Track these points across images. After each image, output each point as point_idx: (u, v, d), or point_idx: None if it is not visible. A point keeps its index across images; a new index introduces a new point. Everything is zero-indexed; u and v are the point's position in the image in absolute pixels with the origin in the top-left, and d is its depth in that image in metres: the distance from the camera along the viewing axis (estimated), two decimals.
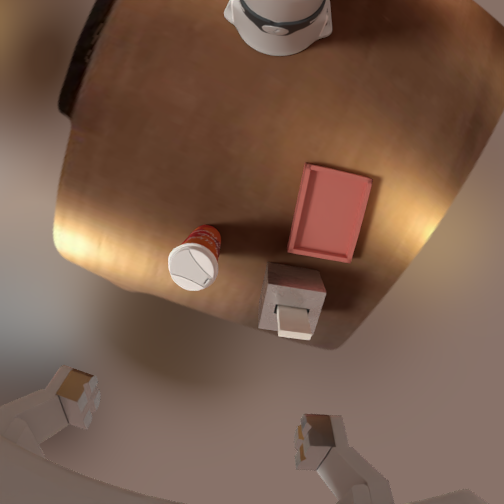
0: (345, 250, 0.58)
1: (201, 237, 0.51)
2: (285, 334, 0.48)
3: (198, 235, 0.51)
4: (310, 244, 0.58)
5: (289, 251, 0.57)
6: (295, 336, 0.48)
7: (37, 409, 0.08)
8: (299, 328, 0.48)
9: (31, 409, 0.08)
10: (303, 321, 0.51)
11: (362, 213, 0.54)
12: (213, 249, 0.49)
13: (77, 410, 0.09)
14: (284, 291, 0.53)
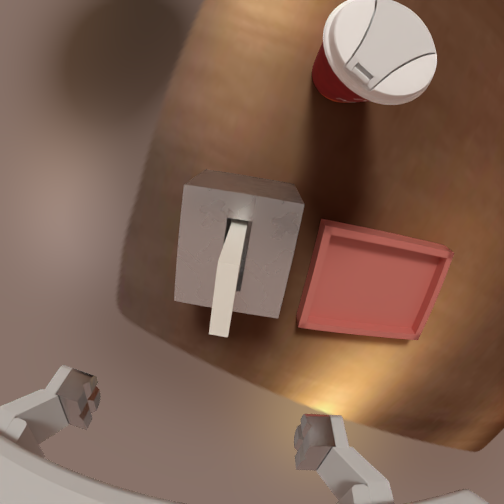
0: (314, 314, 0.36)
1: None
2: (226, 280, 0.18)
3: None
4: (329, 259, 0.33)
5: (326, 228, 0.31)
6: (220, 303, 0.19)
7: (37, 409, 0.08)
8: (233, 303, 0.20)
9: (31, 409, 0.08)
10: None
11: (376, 334, 0.35)
12: None
13: (77, 410, 0.09)
14: (284, 239, 0.24)
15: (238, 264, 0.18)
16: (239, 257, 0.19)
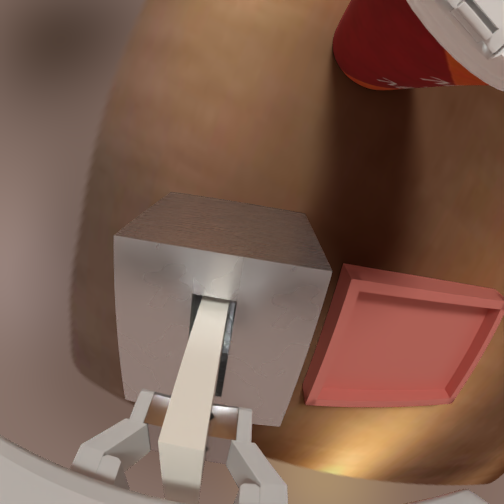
0: (326, 385, 0.25)
1: None
2: (180, 464, 0.07)
3: None
4: (352, 320, 0.23)
5: (353, 282, 0.20)
6: (176, 484, 0.08)
7: (125, 441, 0.08)
8: None
9: (120, 442, 0.08)
10: None
11: (404, 403, 0.24)
12: None
13: None
14: (293, 328, 0.14)
15: (202, 447, 0.07)
16: (205, 419, 0.08)
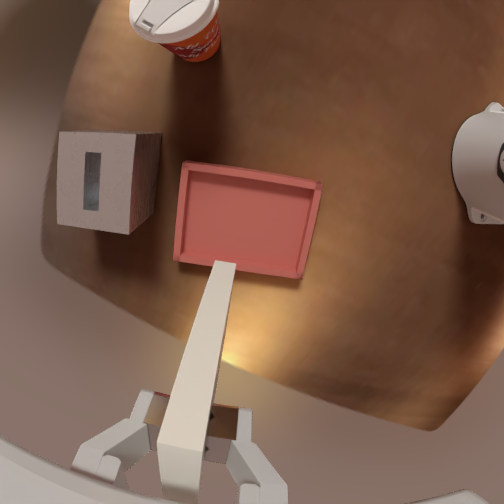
0: (190, 249, 0.40)
1: (217, 23, 0.24)
2: (179, 464, 0.07)
3: None
4: (195, 195, 0.37)
5: (184, 164, 0.34)
6: (175, 485, 0.08)
7: (125, 441, 0.08)
8: None
9: (120, 442, 0.08)
10: None
11: (251, 269, 0.39)
12: (198, 38, 0.23)
13: None
14: (124, 163, 0.28)
15: (200, 448, 0.07)
16: (204, 420, 0.08)
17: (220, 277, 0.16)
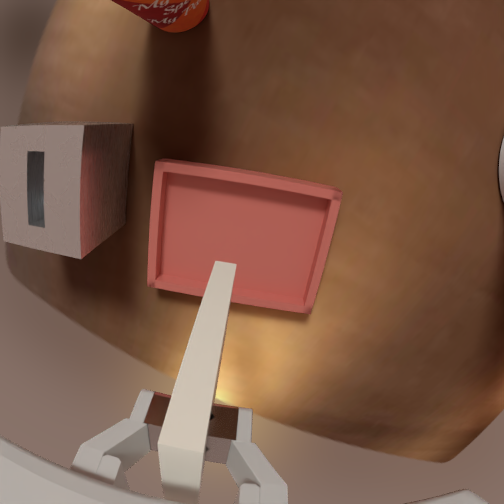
0: (169, 272, 0.31)
1: None
2: (180, 466, 0.07)
3: None
4: (173, 204, 0.28)
5: (157, 164, 0.26)
6: (175, 485, 0.08)
7: (125, 441, 0.08)
8: (202, 470, 0.09)
9: (120, 442, 0.08)
10: None
11: (245, 300, 0.30)
12: None
13: None
14: (70, 165, 0.19)
15: (201, 449, 0.07)
16: (205, 421, 0.08)
17: (220, 278, 0.16)
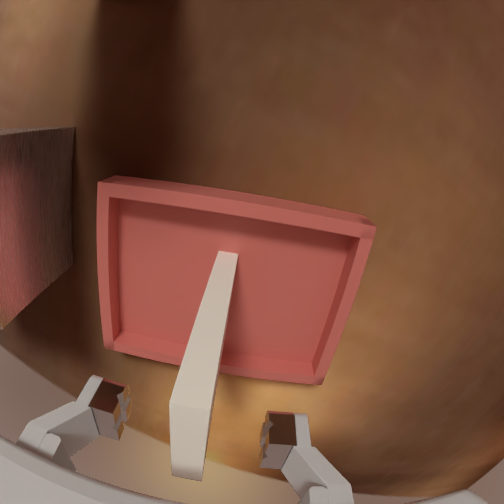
0: (132, 329, 0.22)
1: None
2: (188, 426, 0.09)
3: None
4: (130, 242, 0.19)
5: (100, 186, 0.17)
6: (183, 450, 0.09)
7: (69, 423, 0.08)
8: (207, 437, 0.10)
9: (64, 423, 0.08)
10: (212, 410, 0.13)
11: (234, 371, 0.21)
12: None
13: (112, 421, 0.09)
14: None
15: (208, 407, 0.08)
16: (211, 384, 0.09)
17: (223, 265, 0.17)
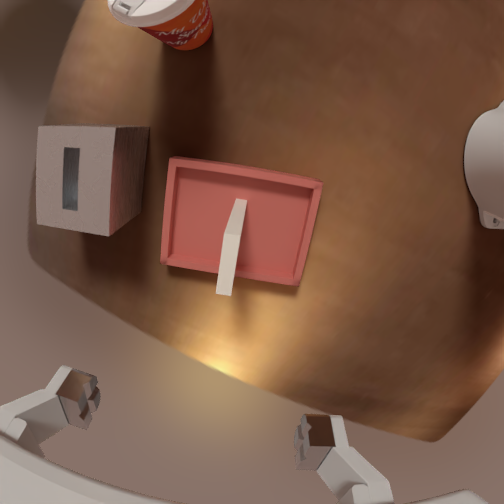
0: (178, 252, 0.37)
1: (204, 5, 0.21)
2: (230, 248, 0.23)
3: (206, 2, 0.21)
4: (184, 194, 0.34)
5: (171, 160, 0.31)
6: (225, 266, 0.24)
7: (37, 409, 0.08)
8: (235, 268, 0.25)
9: (31, 409, 0.08)
10: (235, 268, 0.28)
11: (243, 274, 0.36)
12: (183, 21, 0.20)
13: (77, 410, 0.09)
14: (103, 159, 0.25)
15: (239, 235, 0.23)
16: (240, 231, 0.24)
17: (239, 203, 0.32)
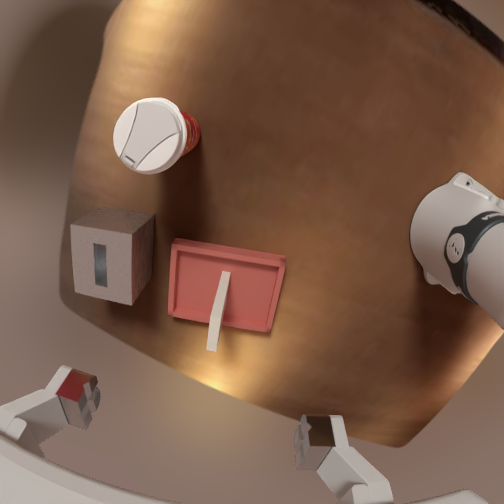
0: (181, 306, 0.49)
1: (190, 139, 0.33)
2: (214, 324, 0.36)
3: (192, 133, 0.33)
4: (183, 267, 0.46)
5: (173, 245, 0.44)
6: (212, 335, 0.36)
7: (37, 409, 0.08)
8: None
9: (31, 409, 0.08)
10: None
11: (229, 324, 0.48)
12: None
13: (77, 410, 0.09)
14: (124, 255, 0.37)
15: (220, 317, 0.35)
16: (221, 312, 0.36)
17: (224, 278, 0.45)
